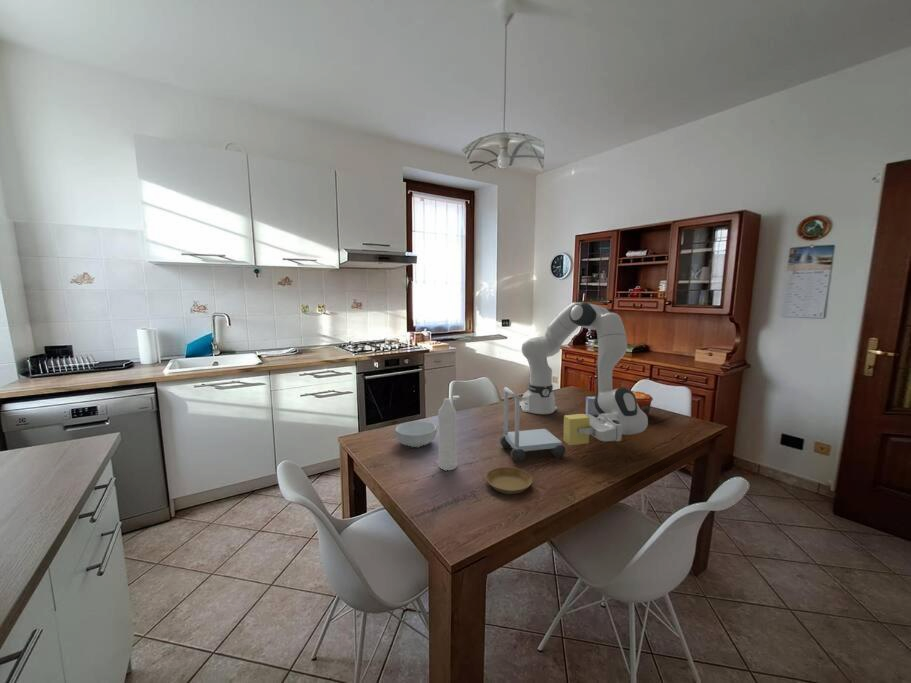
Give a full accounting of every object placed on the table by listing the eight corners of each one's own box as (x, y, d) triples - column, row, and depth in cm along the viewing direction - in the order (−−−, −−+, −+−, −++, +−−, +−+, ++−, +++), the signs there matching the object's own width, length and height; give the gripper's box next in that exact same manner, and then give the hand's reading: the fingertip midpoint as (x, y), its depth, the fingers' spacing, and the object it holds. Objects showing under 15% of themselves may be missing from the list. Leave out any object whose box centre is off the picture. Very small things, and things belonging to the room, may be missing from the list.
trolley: (499, 447, 145) (500, 387, 142) (548, 442, 150) (549, 383, 146) (512, 462, 132) (513, 396, 129) (565, 457, 136) (567, 393, 133)
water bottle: (447, 472, 125) (446, 402, 122) (435, 466, 130) (434, 398, 126) (465, 464, 131) (464, 397, 127) (453, 458, 136) (452, 394, 132)
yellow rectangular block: (563, 440, 138) (563, 415, 137) (582, 438, 140) (583, 413, 139) (569, 445, 134) (570, 419, 133) (588, 443, 136) (589, 417, 134)
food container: (611, 415, 181) (612, 395, 180) (622, 408, 193) (623, 388, 191) (646, 423, 170) (647, 401, 169) (655, 414, 182) (656, 394, 180)
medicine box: (601, 413, 185) (601, 396, 184) (603, 415, 181) (604, 399, 180) (585, 412, 186) (585, 396, 185) (587, 415, 182) (588, 398, 181)
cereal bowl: (445, 443, 150) (444, 426, 149) (414, 456, 138) (414, 438, 137) (418, 432, 161) (417, 417, 160) (387, 444, 149) (387, 427, 148)
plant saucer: (508, 469, 127) (508, 462, 127) (541, 487, 116) (542, 479, 115) (476, 483, 118) (476, 475, 118) (508, 503, 107) (509, 495, 106)
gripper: (591, 408, 149) (560, 411, 146) (624, 426, 129) (589, 429, 126) (591, 423, 150) (560, 426, 147) (623, 443, 130) (589, 446, 127)
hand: (574, 428), depth 136 cm, fingers closed on yellow rectangular block, 4 cm apart
